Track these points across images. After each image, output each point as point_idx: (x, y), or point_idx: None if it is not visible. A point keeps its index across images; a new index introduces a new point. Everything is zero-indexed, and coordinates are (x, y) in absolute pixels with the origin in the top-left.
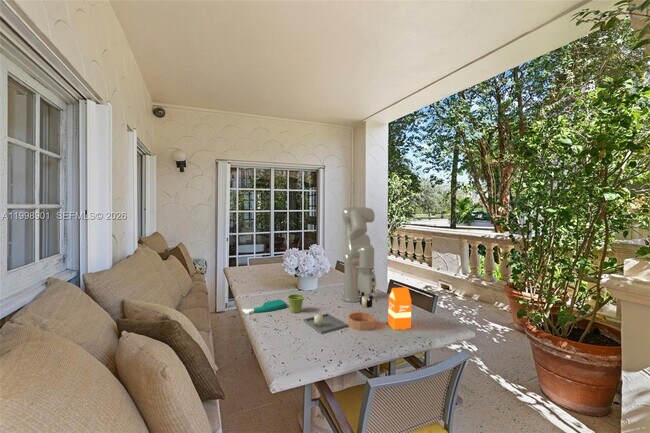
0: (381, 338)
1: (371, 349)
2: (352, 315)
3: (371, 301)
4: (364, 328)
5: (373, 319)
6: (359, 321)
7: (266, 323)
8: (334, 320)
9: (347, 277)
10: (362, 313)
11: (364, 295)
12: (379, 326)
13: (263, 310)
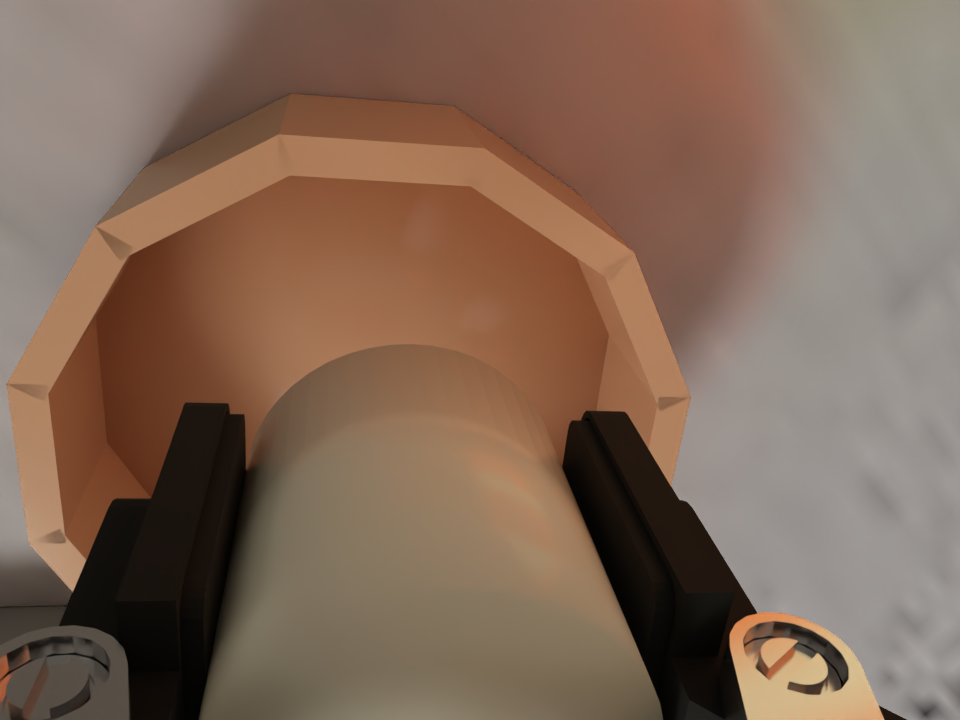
0: (910, 426)
1: (947, 701)
2: (74, 478)
3: (736, 620)
4: None
5: (654, 339)
6: (234, 331)
7: None
8: None
9: None
10: (142, 243)
11: (126, 671)
12: (624, 90)
13: None
